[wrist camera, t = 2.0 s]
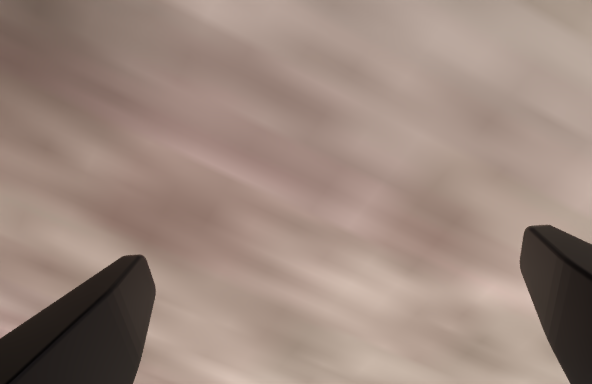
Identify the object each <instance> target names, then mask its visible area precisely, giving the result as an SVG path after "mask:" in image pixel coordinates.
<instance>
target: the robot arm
mask: <svg viewBox="0 0 592 384" xmlns="http://www.w3.org/2000/svg"><path fill="white" fill-rule="evenodd" d="M520 269H521V273H522V275H523V278H524V280H525V283H526V286H527V288H528V291H529V293H530V296H531V299H532V301H533V304H534V307H535V309H536V312H537V314H538V317H539V320H540V322H541V325H542V327H543V330H544V332H545V335H546V337H547V339H548V341H549V343H550V346H551V348H552V350H553V352H554V353H555V355H556V357H557V359H558V361H559V363H560V365H561V367H562V369H563V371H564V373H565V374H566V376H567V378H568V380H569V382H570V384H592V244H590V243H587V242H585V241H583V240H581V239H579V238H577V237H575V236H572V235H570V234H568V233H566V232H564V231H562V230H559V229H557V228H555V227H553V226H551V225H537V226H529V227H527V228H526V229H525V232H524V236H523V242H522V249H521V256H520ZM155 293H156V289H155V284H154V281H153V278H152V275H151V272H150V269H149V266H148V263H147V260H146V258H145V257H144V256H142V255H127V256H123V257H121V258H119V259H118V260H117V261H115V262H114V263H112V264H111V265H109V266H108V267H106V268H105V269H103V270H102V271H100V272H99V273H97V274H96V275H94V276H93V277H91V278H90V279H88V280H87V281H85V282H84V283H82V284H81V285H79V286H78V287H76V288H75V289H73V290H72V291H70V292H69V293H67V294H66V295H64V296H63V297H62V298H60V299H59V300H57V301H56V302H54V303H53V304H51V305H50V306H48V307H47V308H45V309H44V310H42V311H41V312H39V313H38V314H36V315H35V316H33V317H32V318H30V319H29V320H27V321H26V322H24V323H23V324H21V325H20V326H18V327H17V328H15V329H14V330H12V331H11V332H9V333H8V334H6V335H5V336H4V337H2V338H1V339H0V384H133V382H134V379H135V376H136V373H137V370H138V367H139V364H140V361H141V357H142V353H143V349H144V344H145V340H146V335H147V331H148V326H149V322H150V317H151V313H152V308H153V304H154V299H155Z"/></svg>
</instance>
